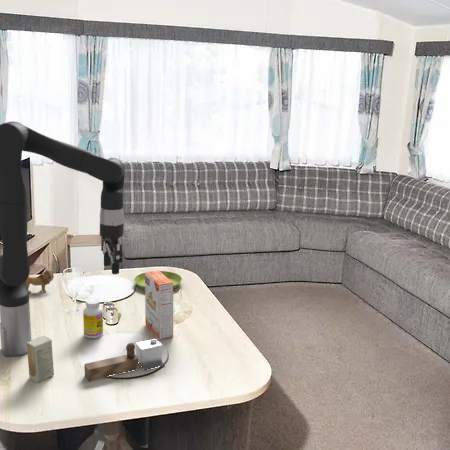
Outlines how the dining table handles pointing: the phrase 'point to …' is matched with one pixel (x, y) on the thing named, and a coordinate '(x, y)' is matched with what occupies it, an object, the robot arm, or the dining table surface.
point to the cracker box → (159, 304)
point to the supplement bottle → (93, 319)
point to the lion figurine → (40, 280)
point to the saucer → (170, 275)
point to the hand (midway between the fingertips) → (111, 269)
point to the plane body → (112, 365)
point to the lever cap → (149, 352)
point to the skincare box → (40, 359)
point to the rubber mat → (153, 365)
